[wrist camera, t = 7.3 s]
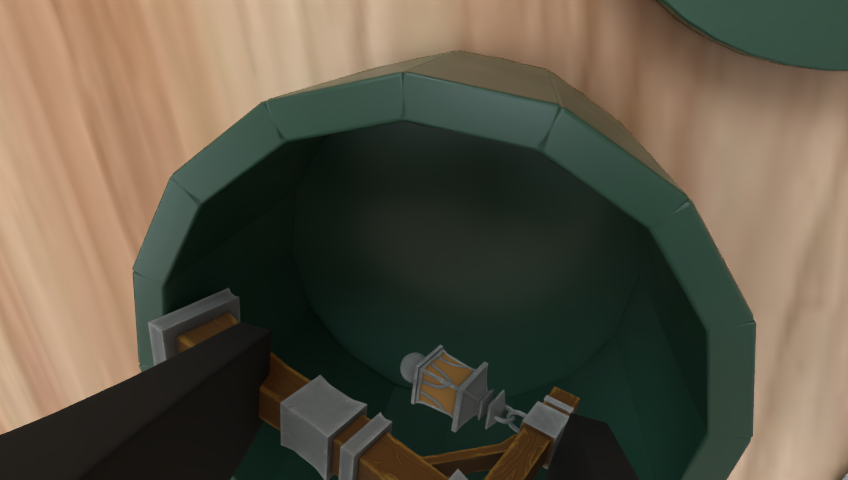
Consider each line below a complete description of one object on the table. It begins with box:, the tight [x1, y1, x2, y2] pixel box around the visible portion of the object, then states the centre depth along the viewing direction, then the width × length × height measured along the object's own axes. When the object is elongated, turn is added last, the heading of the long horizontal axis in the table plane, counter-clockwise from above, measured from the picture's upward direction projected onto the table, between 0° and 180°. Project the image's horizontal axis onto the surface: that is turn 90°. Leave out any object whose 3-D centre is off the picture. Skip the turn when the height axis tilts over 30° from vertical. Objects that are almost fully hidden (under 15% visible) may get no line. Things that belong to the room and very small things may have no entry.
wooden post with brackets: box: [148, 288, 580, 480], centre depth 10 cm, size 2×8×4 cm, turn 84°
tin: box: [133, 51, 756, 480], centre depth 12 cm, size 11×11×6 cm
